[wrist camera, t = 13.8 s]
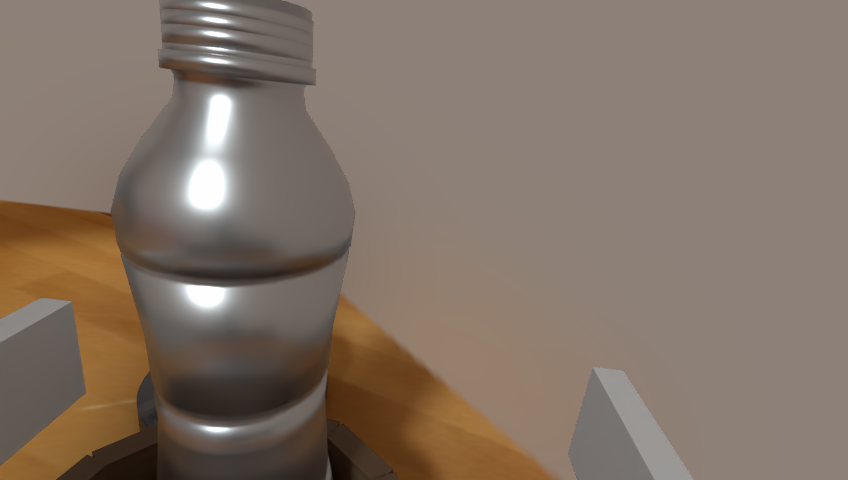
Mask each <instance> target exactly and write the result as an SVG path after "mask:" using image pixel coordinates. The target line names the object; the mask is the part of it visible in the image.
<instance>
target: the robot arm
mask: <svg viewBox="0 0 848 480" xmlns="http://www.w3.org/2000/svg"><path fill="white" fill-rule="evenodd" d="M85 393H86V390H85V383H84V377H83V370H82V364H81V357H80V351H79V344H78V338H77V331H76V324H75V318H74V311H73V305H72V302H71V301H63V300H55V299H47V298H40V299H38V300H36V301H34V302H32V303H30V304H29V305H27V306H25V307H23V308H21V309H19V310H17V311H15V312H13V313H11V314H9V315H7V316H5V317H3V318H1V319H0V466H1V465H2V464H3V463H4V462H5V461H6V460H8V459H9V458H10V457H11V456H12V455H14V454H15V453H16V452H17V451H18V450H19V449H21V448H22V447H23V446H24V445H25V444H27V443H28V442H29V441H30V440H31V439H32V438H34V437H35V436H36V435H37V434H38V433H39V432H41V431H42V430H43V429H44V428H45V427H47V426H48V425H49V424H50V423H51V422H52V421H54V420H55V419H56V418H57V417H58V416H59V415H61V414H62V413H63V412H64V411H65V410H67V409H68V408H69V407H70V406H71V405H72V404H74V403H75V402H76V401H77V400H78V399H80V398H81V397H82V396H83V395H84V394H85ZM568 455H569V457H570V460H571V463H572V466H573V469H574V472H575V475H576V477H577V480H693V478H692V477H691V475H690V473H689V472H688V470H687V469H686V467H685V466H684V464H683V463H682V461H681V459H680V458H679V457H678V455H677V453H676V452H675V450H674V449H673V447H672V446H671V444H670V442H669V441H668V439H667V438H666V436H665V435H664V433H663V432H662V430H661V429H660V427H659V426H658V424H657V423H656V421H655V419H654V418H653V416H652V415H651V413H650V412H649V410H648V409H647V407H646V405H645V404H644V403H643V401H642V399H641V398H640V396H639V395H638V393H637V392H636V390H635V389H634V387H633V385H632V384H631V382H630V381H629V379H628V378H627V376H626V375H625V373H624V372H623V371H621V370H613V369H605V368H597V367H593V368H592V371H591V375H590V378H589V382H588V385H587V389H586V392H585V396H584V400H583V403H582V406H581V410H580V413H579V417H578V420H577V424H576V428H575V431H574V434H573V438H572V441H571V445H570V448H569V452H568Z"/></svg>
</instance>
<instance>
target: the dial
mask: <svg viewBox="0 0 848 480" xmlns="http://www.w3.org/2000/svg"><path fill="white" fill-rule="evenodd" d="M326 424H327V448H328V456H329V461H330V465H331V470H332V477H333V480H398V479H397V476H396V473H393V468H391V467H390V466H389V465H388V464H387V463H386V462H385V461H384V460H383V459H381V458H380V457H379V456H378V455H377V454H376V453H375V452H374V451H373V450H371V449H370V448H369V447H368V446H367V445H366V444H365V443H364V442H363V441H361V440H360V439H359V438H358V437H357V436H356V435H355V434H354V433H353V432H351V431H350V430H349V429H348V428H347V427H346V426H345V425H344V424H341V425H339V422H338V421H334V420H330V419H326ZM157 447H158V424H157V425H155V426H153V427H150V428H148V429H145V430H143V431H141V432H138V433H136V434H133V435H131V436H129V437H126V438H124V439H122V440H119V441H117V442H114V443H112V444H110V445H107V446H105V447H103V448H100V449H98V450H95V451H93V452H92V454H93V457H92V456H89V455H86V456H85V457H84V458H82V459H81V460H80V461H79V462H78V463H76V464H75V465H74V466H73V467H71V468H70V469H69V470H68V471H66V472H65V473H64V474H63V475H61V476H60V477H59V478H58V479H56V480H157Z"/></svg>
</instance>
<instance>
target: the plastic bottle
mask: <svg viewBox="0 0 848 480" xmlns="http://www.w3.org/2000/svg"><path fill="white" fill-rule="evenodd" d="M159 4H160V17H161V31H162V47H163V49H158V57H159V67H160V68H166V69H171V71H172V72H173V74H174V85H173V94H172V98H171V99H170V101H169V102H168V104H167V105H166V106H165V107H164V109H163V110H162V111H161V112H160V114H159V115H158V116H157V118H156V119H155V120H154V122H153V123H152V124H151V125H150V127H149V128H148V129H147V131H146V132H145V133H144V134H143V136H142V137H141V139H140V140H139V142H138V144H137V145H136V147H135V149H134V151H133V152H132V154H131V156H130V157H129V159H128V161H127V162H126V164H125V166H124V167H123V169H122V171H121V173H120V175H119V179H118V183H117V187H116V191H115V196H114V200H113V204H112V208H111V215H112V219H113V224H114V229H115V235H116V240H117V245H118V247H119V249H120V252H121V258H122V261H123V264H124V268H125V271H126V275H127V278H128V282H129V285H130V288H131V292H132V295H133V299H134V302H135V306H136V309H137V313H138V316H139V319H140V323H141V326H142V330H143V333H144V337H145V343H146V349H147V355H148V361H149V368H150V374H151V379H152V382H153V385H154V398H155V404H156V410H157V416H158V447H157V480H333V477H332V470H331V465H330V461H329V456H328V448H327V424H326V400H325V391H326V382H327V374H328V368H327V367H328V363H329V357H330V348H331V339H332V330H333V323H334V318H335V314H336V309H337V305H338V300H339V296H340V291H341V286H342V282H343V277H344V273H345V268H346V264H347V259H348V253H349V247H350V246H351V239H352V231H353V225H354V218H355V210H354V205H353V200H352V196H351V191H350V187H349V183H348V181H347V179H346V177H345V175H344V173H343V171H342V169H341V167H340V165H339V163H338V161H337V160H336V158H335V156H334V154H333V152H332V150H331V149H330V147H329V145H328V144H327V142H326V141H325V139H324V138H323V136H322V134H321V133H320V131H319V130H318V128H317V127H316V125H315V124H314V122H313V120H312V119H311V118H310V116H309V114H308V113H307V111H306V106H305V99H304V88H305V87H306V85H315V84H316V69H313V68H312V57H313V21H312V12H311V11H309V10H308V9H306V8H303V7H301V6H298V5H295V4H292V3H289V2H286V1H282V0H159Z"/></svg>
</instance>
